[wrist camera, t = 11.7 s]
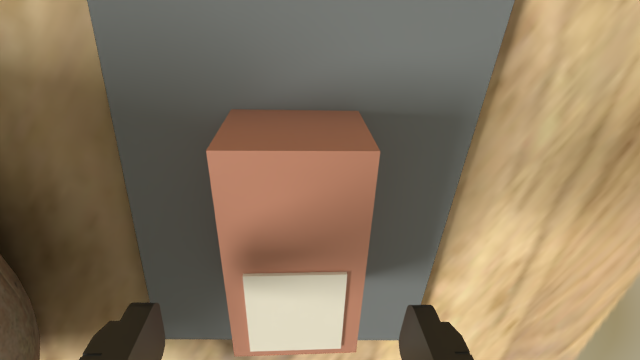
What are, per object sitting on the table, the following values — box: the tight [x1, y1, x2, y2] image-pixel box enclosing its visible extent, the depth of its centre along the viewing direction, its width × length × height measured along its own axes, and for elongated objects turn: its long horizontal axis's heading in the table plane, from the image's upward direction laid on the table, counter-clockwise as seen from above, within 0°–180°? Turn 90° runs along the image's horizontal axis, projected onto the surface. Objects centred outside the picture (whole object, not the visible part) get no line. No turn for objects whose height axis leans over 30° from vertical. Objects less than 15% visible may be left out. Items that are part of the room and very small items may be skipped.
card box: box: [206, 109, 380, 356], centre depth 15 cm, size 10×6×5 cm, turn 178°
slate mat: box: [87, 0, 515, 340], centre depth 17 cm, size 16×20×1 cm
